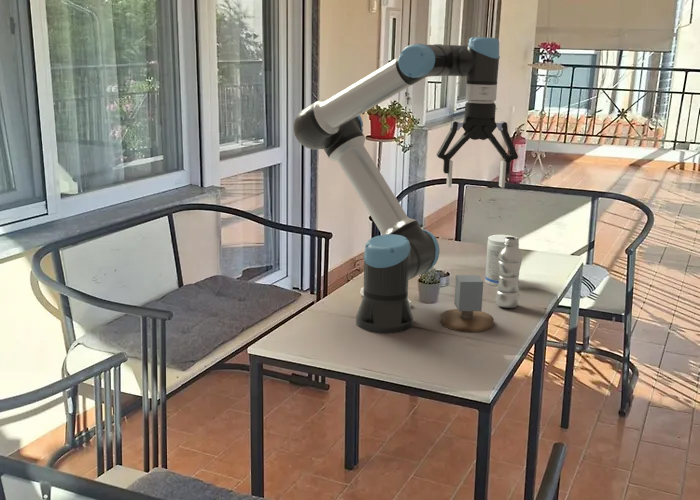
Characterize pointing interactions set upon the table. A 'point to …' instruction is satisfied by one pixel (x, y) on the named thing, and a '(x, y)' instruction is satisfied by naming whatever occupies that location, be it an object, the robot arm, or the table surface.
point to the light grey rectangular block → (468, 293)
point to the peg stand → (467, 320)
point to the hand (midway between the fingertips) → (475, 186)
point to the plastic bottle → (509, 274)
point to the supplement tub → (494, 258)
